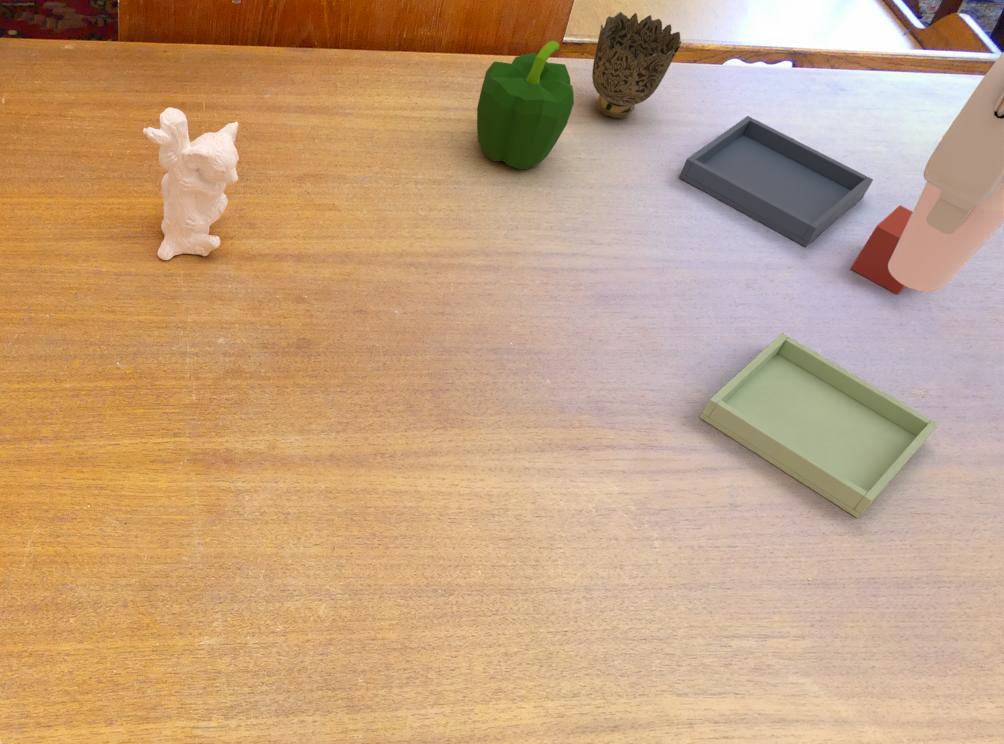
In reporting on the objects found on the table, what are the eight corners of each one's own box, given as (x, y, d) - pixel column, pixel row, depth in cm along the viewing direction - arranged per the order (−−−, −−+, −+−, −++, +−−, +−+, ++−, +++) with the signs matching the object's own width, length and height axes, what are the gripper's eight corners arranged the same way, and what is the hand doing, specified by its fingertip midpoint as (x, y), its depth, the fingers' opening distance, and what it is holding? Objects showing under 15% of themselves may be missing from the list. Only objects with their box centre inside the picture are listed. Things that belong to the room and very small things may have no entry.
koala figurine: (159, 278, 90) (160, 145, 80) (125, 229, 93) (122, 96, 83) (251, 252, 92) (263, 121, 83) (215, 206, 96) (222, 74, 86)
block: (920, 272, 97) (949, 230, 94) (897, 294, 95) (926, 252, 92) (872, 247, 99) (900, 204, 95) (849, 268, 97) (876, 225, 93)
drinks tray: (924, 442, 85) (939, 424, 83) (857, 518, 79) (872, 500, 78) (771, 351, 90) (782, 332, 88) (699, 417, 84) (709, 399, 83)
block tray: (862, 198, 103) (873, 179, 102) (805, 247, 98) (816, 228, 97) (739, 134, 108) (747, 115, 107) (678, 177, 103) (686, 158, 102)
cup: (595, 81, 112) (622, 2, 106) (662, 109, 110) (694, 30, 104) (563, 112, 109) (588, 32, 102) (632, 141, 106) (662, 62, 100)
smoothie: (894, 230, 76) (1022, 29, 64) (983, 277, 73) (1132, 77, 62) (849, 269, 73) (975, 66, 61) (941, 320, 70) (1089, 117, 59)
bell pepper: (503, 189, 100) (534, 86, 92) (450, 141, 104) (475, 37, 96) (574, 167, 103) (610, 64, 95) (520, 120, 107) (549, 18, 99)
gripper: (1116, 64, 51) (945, 298, 62) (1246, -61, 61) (1078, 162, 72) (985, 8, 54) (844, 243, 65) (1130, -104, 63) (985, 119, 74)
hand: (968, 200), depth 68 cm, fingers closed on smoothie, 6 cm apart
